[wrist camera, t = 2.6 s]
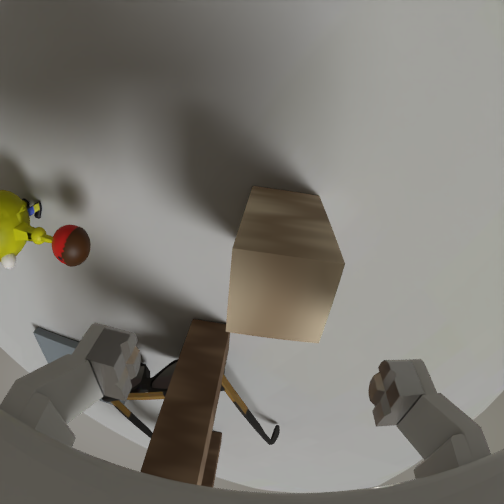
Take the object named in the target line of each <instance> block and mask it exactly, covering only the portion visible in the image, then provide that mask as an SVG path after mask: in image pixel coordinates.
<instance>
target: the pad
mask: <svg viewBox="0 0 504 504" xmlns="http://www.w3.org/2000/svg"><path fill="white" fill-rule="evenodd" d="M33 333H34V335H35V337H36V339H37V341H38V344H39V346H40V348H41V350H42V352H43V354H44V356H45V358H46V360H47V362H48V364H49V363H51V362H53V361H55V360H57V359H59V358H61V357H63V356H64V355H66V354H71V355H72V353H73V352H74V350H75V349H76V347H77V345H78V344H79V342H77V341H74V340H71V339H68V338H65V337H63V336H60V335H57V334H54V333H52V332H49V331H46V330H44V329H41V328H39V327H37V329H36V330H35V331H34V332H33ZM100 401H103V400H102V399H100ZM119 401H120V402H121V403H122V404H123V405H124V403H125V401H123V400H119ZM103 402H105V401H103ZM106 403H109V404H112V403H111V402H106ZM112 405H113V404H112Z"/></svg>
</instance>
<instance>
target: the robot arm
mask: <svg viewBox="0 0 504 504" xmlns="http://www.w3.org/2000/svg"><path fill="white" fill-rule="evenodd" d="M137 342H138V340H137V336H136V334H135V333H133V332H129V331H125V330H121V329H118V328H114V327H110V326H106V325H102V324H98V323H94V324H92V325H91V326H90V328H89V329H88V330H87V332H86V333H85V335H84V336H83V338H82V339H81V341H80V342H79V344H78V345H77V347H76V349H75V350H74V352H73V353H72V355H71V354H66V355H64V356H63V357H61V358H59V359H57V360H55V361H53V362H51V363H49V364H47V365H45V366H43V367H41V368H39V369H37V370H35V371H33V372H31V373H29V374H27V375H25V376H23V377H21V378H19V379H17V380H16V381H15V382H14V384H13V385H12V387H11V389H10V390H9V392H8V393H7V395H6V397H5V398H4V400H3V401H2V403H1V404H0V504H504V449H502V450H500V451H498V452H496V453H493V454H491V453H490V450H489V447H488V444H487V442H486V439H485V436H484V434H483V431H482V429H481V427H480V426H479V425H478V424H477V423H476V422H474V421H473V420H472V419H471V418H470V417H468V416H467V415H466V414H465V413H464V412H463V411H461V410H460V409H459V408H458V407H457V406H455V405H454V404H453V403H452V402H451V401H449V400H448V399H447V398H446V397H445V396H443V395H442V394H441V393H437V391H436V389H435V387H434V384H433V382H432V380H431V377H430V375H429V373H428V370H427V368H426V366H425V364H424V362H423V361H422V360H421V359H413V360H384V361H383V362H381V364H380V366H379V367H378V368H379V371H380V372H379V373H377V374H376V375H374V376H373V378H372V380H371V381H370V385H369V398H370V401H371V402H372V403H373V404H374V405H375V407H374V409H373V415H374V420H375V424H376V426H390V425H397V427H398V429H399V430H400V431H401V432H402V433H403V435H404V436H405V437H406V438H407V439H408V441H409V442H410V443H411V444H412V445H413V446H414V448H415V449H416V450H417V451H418V452H419V454H420V455H421V456H422V457H423V458H424V461H422V462H421V463H420V464H419V465H417V466H416V467H415V469H414V474H415V478H416V479H414V480H410V481H405V482H400V483H395V484H390V485H384V486H378V487H372V488H365V489H357V490H348V491H337V492H322V493H263V492H248V491H237V490H228V489H219V488H213V487H206V486H200V485H195V484H189V483H184V482H179V481H174V480H170V479H166V478H161V477H157V476H153V475H150V474H146V473H142V472H139V471H135V470H132V469H129V468H126V467H122V466H119V465H116V464H114V463H111V462H108V461H105V460H102V459H100V458H97V457H94V456H92V455H89V454H87V453H84V452H82V451H79V450H77V449H75V448H72V446H73V443H74V441H75V435H74V433H73V432H72V431H71V430H70V428H69V427H68V425H67V424H68V423H69V422H70V421H72V420H73V419H74V418H76V417H77V416H78V415H80V414H81V413H82V412H84V411H85V410H86V409H88V408H89V407H90V406H92V405H93V404H94V403H96V402H97V401H98V400H100V399H101V398H102V397H103V395H105V396H108V397H112V398H115V399H119V400H123V401H126V400H127V398H128V395H129V393H130V390H131V388H132V384H131V379H133V378H135V377H136V376H137V374H138V371H139V368H140V363H141V355H140V350H139V349H138V348H137V347H136V344H137Z"/></svg>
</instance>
